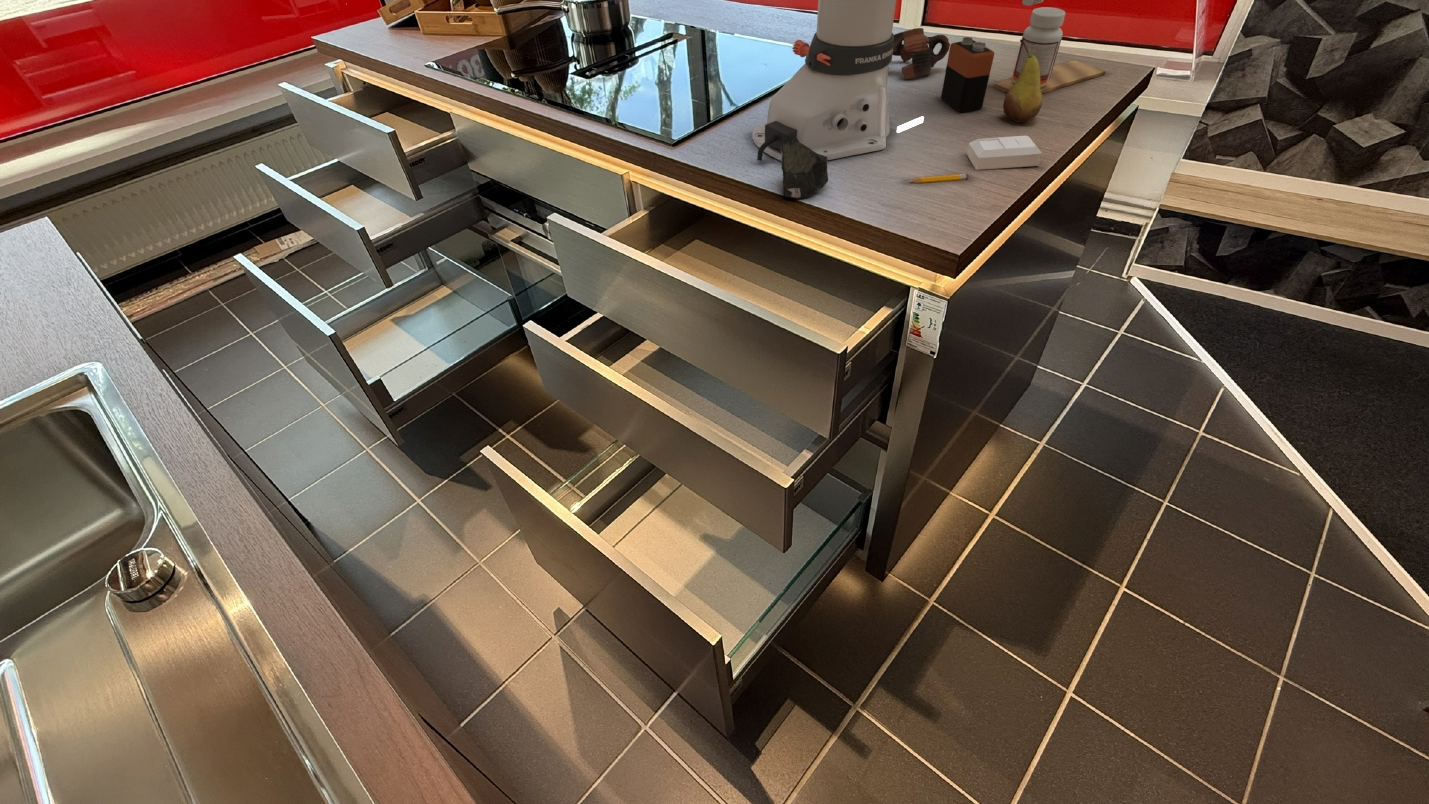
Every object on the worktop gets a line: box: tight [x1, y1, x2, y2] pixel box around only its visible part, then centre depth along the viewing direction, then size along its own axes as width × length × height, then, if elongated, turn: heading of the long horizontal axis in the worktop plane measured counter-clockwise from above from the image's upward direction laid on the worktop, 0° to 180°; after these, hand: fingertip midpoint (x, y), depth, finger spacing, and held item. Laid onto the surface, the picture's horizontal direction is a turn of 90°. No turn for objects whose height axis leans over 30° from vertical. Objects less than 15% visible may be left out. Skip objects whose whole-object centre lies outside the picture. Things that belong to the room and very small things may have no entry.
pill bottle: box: [1011, 6, 1066, 88], centre depth 116 cm, size 6×6×11 cm
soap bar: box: [966, 134, 1043, 171], centre depth 100 cm, size 5×9×3 cm, turn 90°
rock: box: [781, 135, 829, 200], centre depth 97 cm, size 9×7×5 cm
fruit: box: [1003, 38, 1043, 123], centre depth 106 cm, size 6×6×12 cm
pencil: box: [908, 173, 969, 184], centre depth 97 cm, size 1×9×1 cm
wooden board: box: [993, 59, 1107, 95], centre depth 122 cm, size 20×7×1 cm, turn 119°
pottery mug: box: [892, 27, 951, 81], centre depth 127 cm, size 12×10×8 cm
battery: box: [940, 36, 995, 113], centre depth 113 cm, size 4×7×10 cm, turn 16°
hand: (1032, 3), depth 109 cm, fingers closed
